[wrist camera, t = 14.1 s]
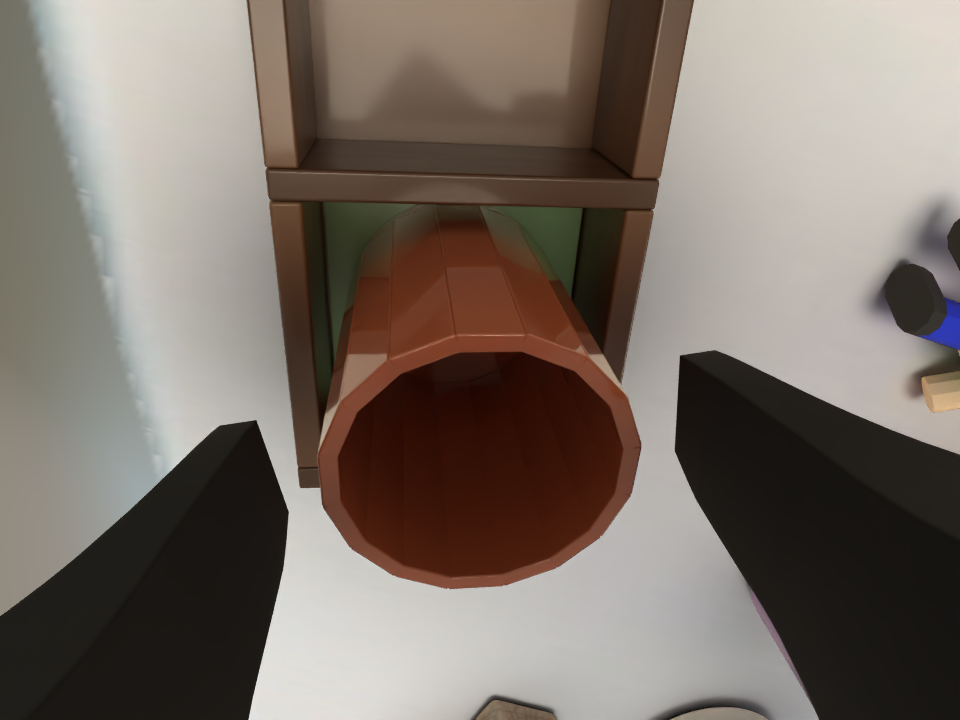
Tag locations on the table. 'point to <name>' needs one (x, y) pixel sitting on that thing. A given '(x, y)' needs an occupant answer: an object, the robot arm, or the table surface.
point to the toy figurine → (929, 320)
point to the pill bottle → (721, 714)
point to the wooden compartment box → (459, 147)
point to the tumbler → (469, 407)
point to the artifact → (512, 712)
